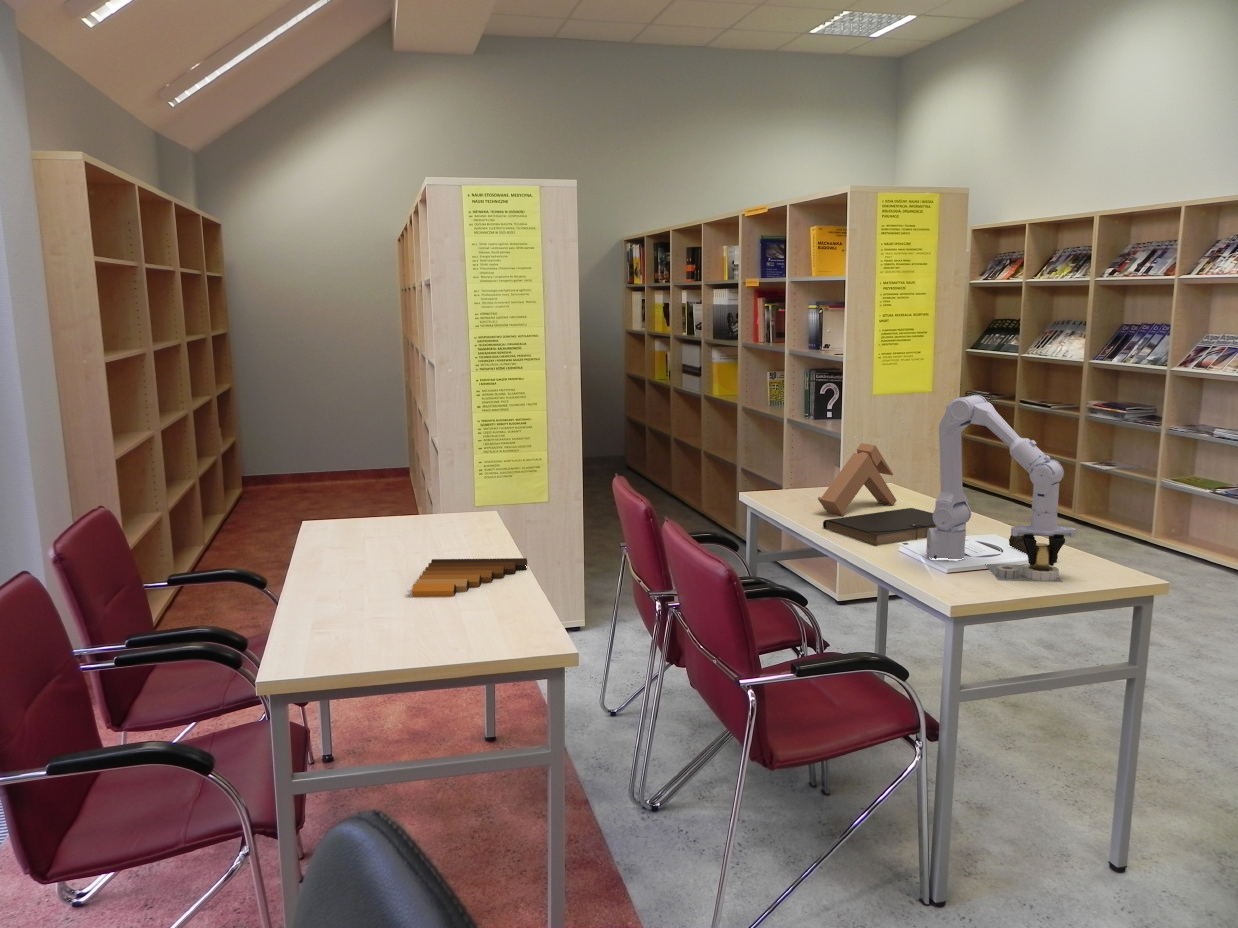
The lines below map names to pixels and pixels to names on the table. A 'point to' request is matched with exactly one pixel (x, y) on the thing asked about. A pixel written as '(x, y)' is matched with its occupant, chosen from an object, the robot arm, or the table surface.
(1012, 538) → the brown wooden stick
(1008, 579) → the fitting board
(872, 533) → the dark brown book
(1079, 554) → the table surface
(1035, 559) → the round peg
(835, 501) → the wooden a-frame
